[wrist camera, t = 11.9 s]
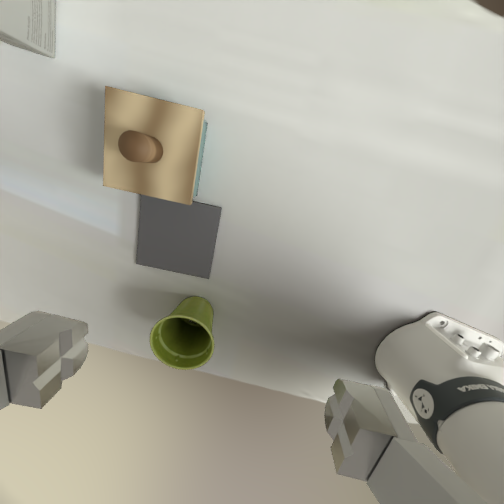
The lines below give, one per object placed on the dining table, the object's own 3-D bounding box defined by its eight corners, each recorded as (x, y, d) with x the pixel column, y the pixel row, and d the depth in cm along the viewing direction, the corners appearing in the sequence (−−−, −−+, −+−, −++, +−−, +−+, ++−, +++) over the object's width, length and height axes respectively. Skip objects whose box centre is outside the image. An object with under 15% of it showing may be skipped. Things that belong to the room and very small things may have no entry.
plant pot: (164, 323, 44) (142, 359, 36) (177, 279, 41) (157, 307, 33) (213, 339, 45) (203, 377, 37) (229, 297, 42) (222, 328, 34)
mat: (221, 207, 37) (221, 208, 36) (209, 277, 41) (208, 278, 40) (143, 189, 36) (141, 190, 36) (137, 262, 40) (136, 263, 40)
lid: (204, 112, 28) (193, 99, 23) (191, 204, 32) (179, 210, 27) (110, 88, 28) (77, 70, 23) (107, 185, 31) (78, 188, 26)
